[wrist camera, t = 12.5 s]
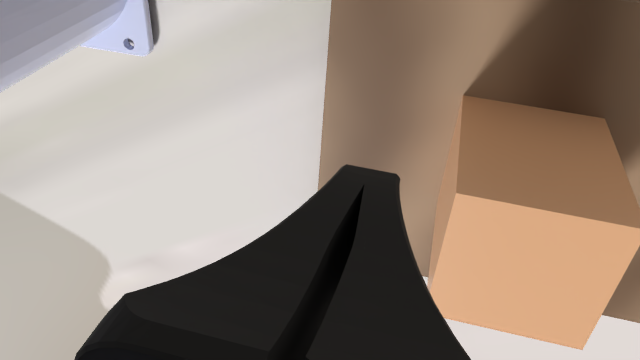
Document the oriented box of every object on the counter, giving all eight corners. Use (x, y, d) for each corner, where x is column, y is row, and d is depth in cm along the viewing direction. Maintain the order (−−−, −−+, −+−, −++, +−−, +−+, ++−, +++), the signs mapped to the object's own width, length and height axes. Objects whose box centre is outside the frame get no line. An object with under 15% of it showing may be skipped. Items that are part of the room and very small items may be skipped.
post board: (318, 239, 28) (288, 319, 24) (340, -42, 20) (300, 0, 16) (644, 309, 26) (678, 413, 21) (822, 18, 17) (935, 89, 13)
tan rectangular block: (437, 201, 24) (424, 313, 19) (462, 95, 21) (455, 193, 16) (559, 225, 23) (582, 350, 18) (604, 118, 20) (648, 230, 15)
